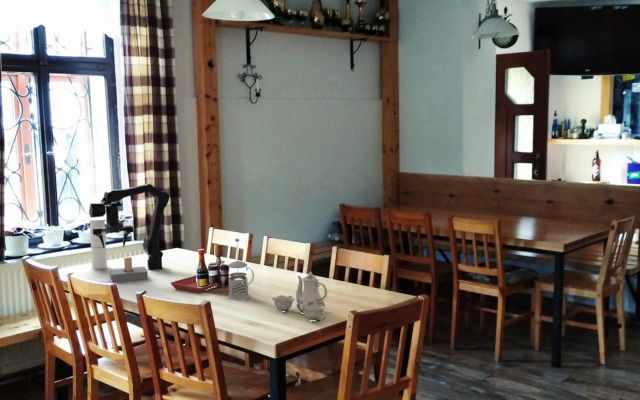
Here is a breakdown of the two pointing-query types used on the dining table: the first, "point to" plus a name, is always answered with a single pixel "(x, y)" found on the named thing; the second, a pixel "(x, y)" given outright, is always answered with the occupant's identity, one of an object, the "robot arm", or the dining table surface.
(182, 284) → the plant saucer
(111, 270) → the socket block
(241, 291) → the french press
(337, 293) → the dining table surface
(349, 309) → the dining table surface
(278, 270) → the dining table surface
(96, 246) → the cylindrical container
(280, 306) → the chinaware
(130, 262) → the peg
